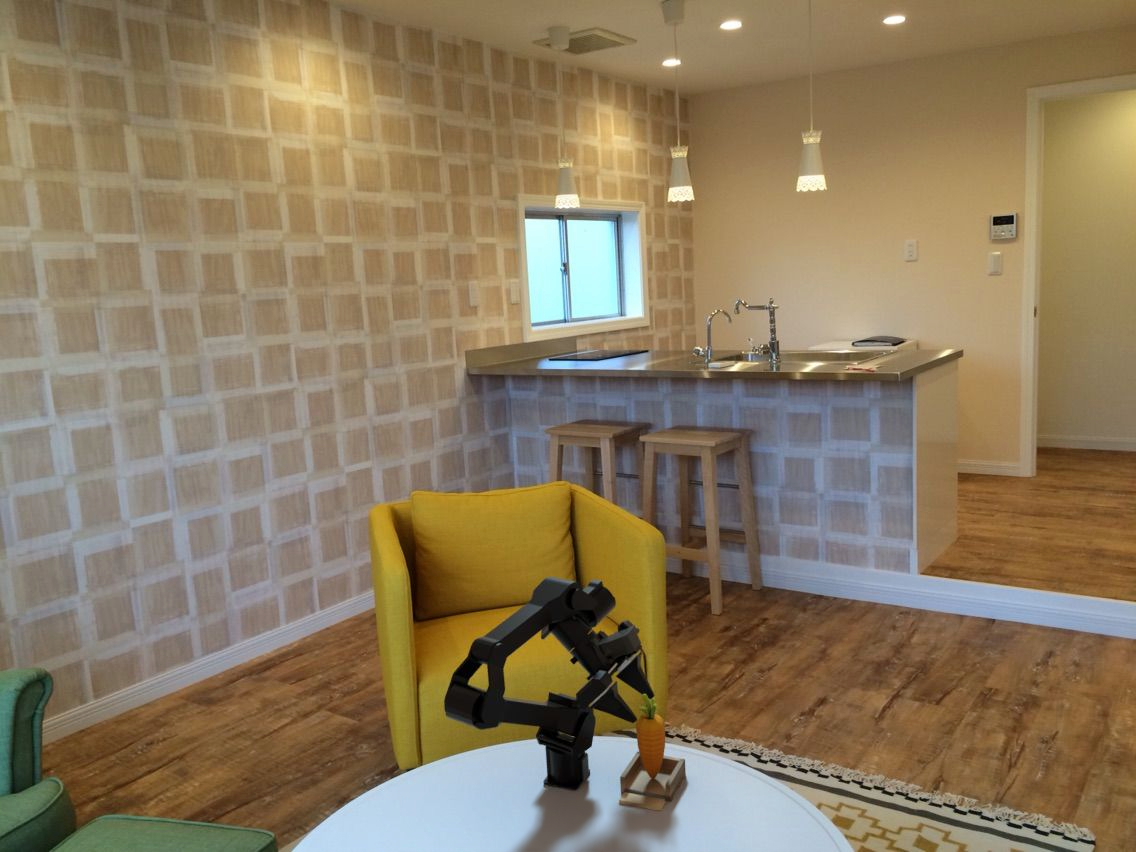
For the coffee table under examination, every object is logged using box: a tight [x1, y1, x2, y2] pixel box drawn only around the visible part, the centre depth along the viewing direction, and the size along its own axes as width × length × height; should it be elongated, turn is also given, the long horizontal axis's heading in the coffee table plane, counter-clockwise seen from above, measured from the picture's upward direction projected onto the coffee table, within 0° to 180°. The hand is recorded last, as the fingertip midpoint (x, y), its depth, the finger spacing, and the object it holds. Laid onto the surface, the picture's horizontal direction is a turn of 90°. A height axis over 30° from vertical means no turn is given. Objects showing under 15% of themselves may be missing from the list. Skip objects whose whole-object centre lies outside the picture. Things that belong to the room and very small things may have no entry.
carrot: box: [635, 694, 666, 779], centre depth 158 cm, size 5×5×15 cm
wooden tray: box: [618, 751, 687, 812], centre depth 158 cm, size 9×12×3 cm
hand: (644, 709), depth 158 cm, fingers open, 9 cm apart
